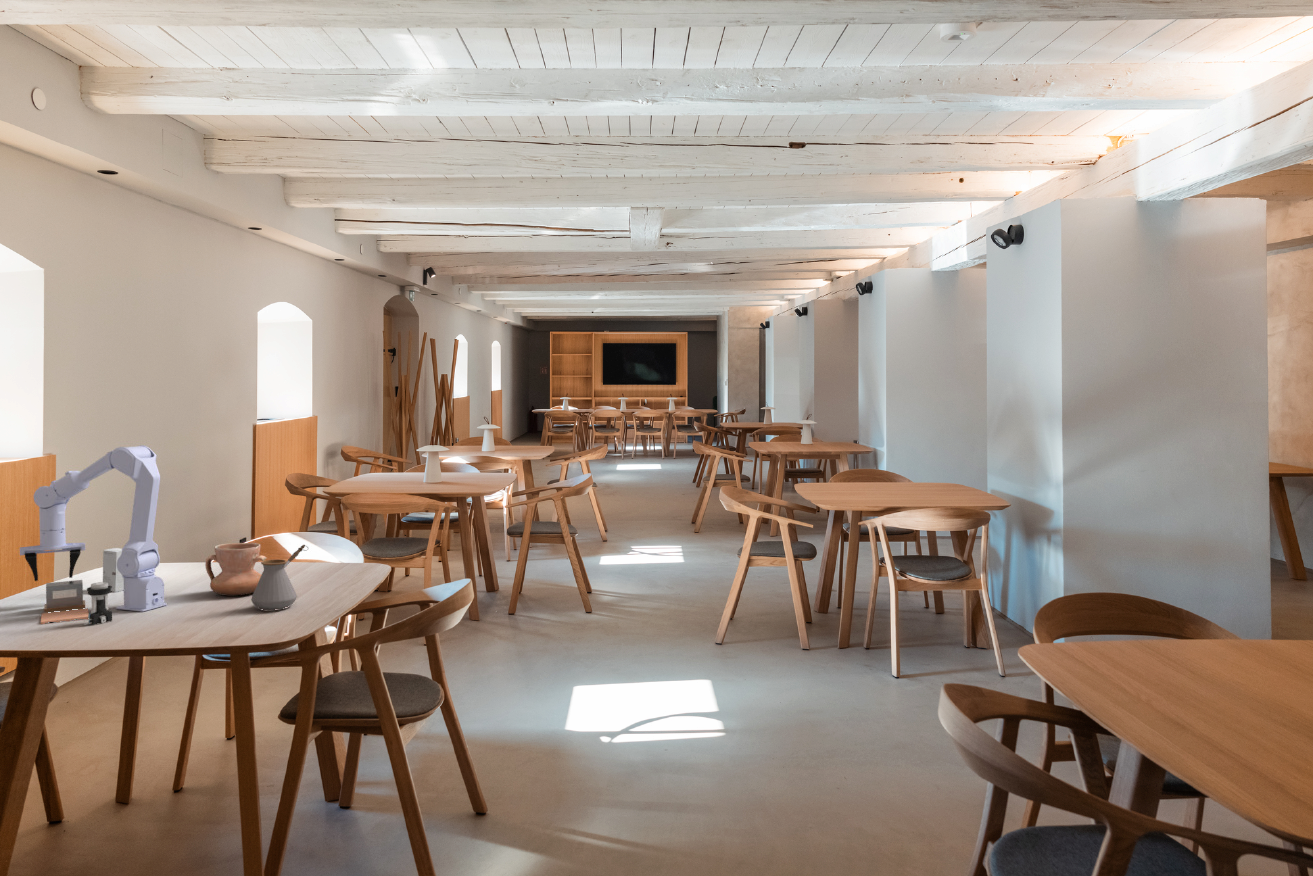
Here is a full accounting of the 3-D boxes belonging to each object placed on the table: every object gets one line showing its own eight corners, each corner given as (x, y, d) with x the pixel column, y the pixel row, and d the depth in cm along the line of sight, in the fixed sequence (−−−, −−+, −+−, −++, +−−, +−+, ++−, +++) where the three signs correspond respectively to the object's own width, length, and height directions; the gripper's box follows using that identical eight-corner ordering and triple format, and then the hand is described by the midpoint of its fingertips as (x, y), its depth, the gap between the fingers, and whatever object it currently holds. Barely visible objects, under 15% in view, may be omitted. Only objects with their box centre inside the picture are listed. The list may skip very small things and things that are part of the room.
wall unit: (85, 608, 227) (84, 583, 226) (44, 613, 222) (43, 587, 221) (84, 604, 232) (84, 579, 231) (44, 608, 226) (44, 583, 226)
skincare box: (101, 590, 248) (101, 549, 248) (116, 587, 252) (115, 547, 252) (115, 592, 246) (114, 551, 245) (130, 589, 250) (129, 549, 250)
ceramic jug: (278, 588, 254) (278, 541, 253) (251, 599, 239) (251, 550, 239) (221, 586, 255) (221, 540, 254) (191, 597, 241) (191, 548, 240)
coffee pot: (281, 614, 224) (281, 558, 223) (242, 612, 226) (241, 556, 225) (324, 595, 245) (323, 544, 244) (287, 594, 247) (287, 543, 246)
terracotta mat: (88, 618, 217) (88, 616, 217) (40, 624, 211) (40, 622, 211) (87, 610, 225) (87, 608, 225) (41, 615, 219) (41, 613, 219)
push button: (91, 627, 209) (90, 587, 208) (77, 625, 211) (76, 585, 210) (117, 621, 215) (116, 582, 214) (103, 619, 217) (102, 580, 216)
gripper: (84, 525, 237) (85, 573, 237) (20, 529, 228) (21, 579, 229) (84, 528, 231) (85, 577, 231) (18, 533, 223) (20, 583, 223)
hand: (53, 578), depth 230 cm, fingers open, 7 cm apart
